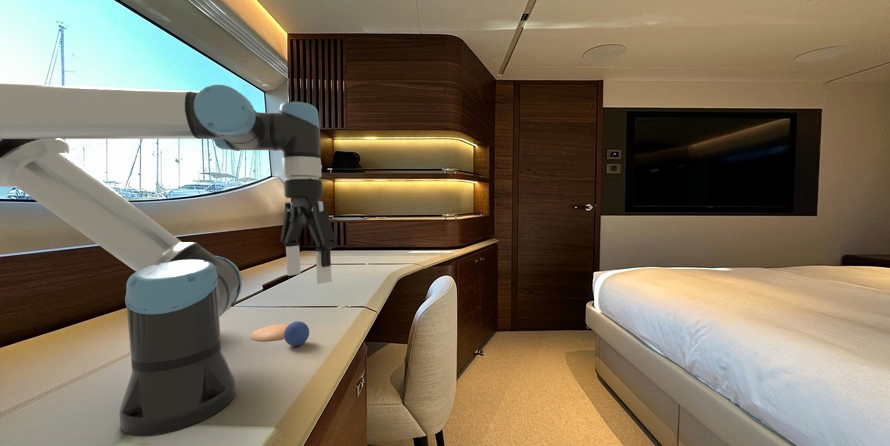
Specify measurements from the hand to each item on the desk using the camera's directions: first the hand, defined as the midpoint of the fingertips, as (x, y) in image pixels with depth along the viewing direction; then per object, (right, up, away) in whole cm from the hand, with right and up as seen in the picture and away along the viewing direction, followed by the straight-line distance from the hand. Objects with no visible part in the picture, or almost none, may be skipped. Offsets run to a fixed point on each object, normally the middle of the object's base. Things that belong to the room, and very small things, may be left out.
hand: (308, 278), depth 76 cm
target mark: (-14, -16, +16) cm, 27 cm away
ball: (-5, -14, +7) cm, 16 cm away
